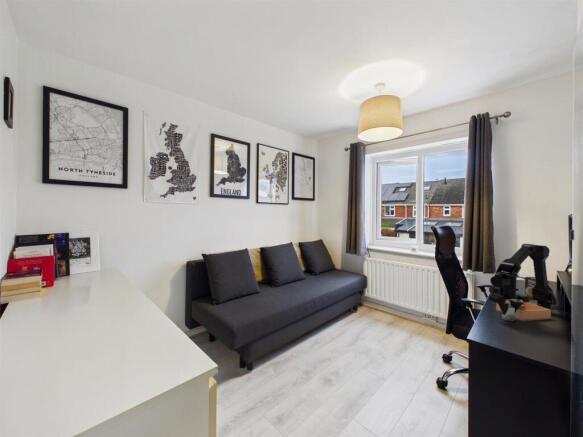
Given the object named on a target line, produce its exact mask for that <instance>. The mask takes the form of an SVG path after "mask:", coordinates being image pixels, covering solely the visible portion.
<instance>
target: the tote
mask: <svg viewBox="0 0 583 437" xmlns="http://www.w3.org/2000/svg"><path fill="white" fill-rule="evenodd" d="M521 302H523V300H521ZM495 303H496V302H495ZM507 303H510V302H509V300H507ZM523 303H524V304H522V305H523V306H525V311H521V310H517V311H516V312H515V320H518V321H521V322H526V321H541V320H551V319H552V314H551V310H550V309H547V308H544V307H541V306H538V305H535V304H532V303H529V302H523ZM495 310H496V311H497V312H500V313H501V314H502V311H501V309H500V306H499V305H498V303H496V306H495Z"/></svg>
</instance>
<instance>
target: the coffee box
mask: <svg viewBox="0 0 583 437" xmlns="http://www.w3.org/2000/svg"><path fill="white" fill-rule="evenodd" d="M524 279H525V296H527V297H528V298H529V303H532V304H535V305H537V300H533V296H532V288H533V287H534V286H535V285H536V282H535V276H525V277H524ZM547 281H548V285H549V286H550V281H549V280H547Z"/></svg>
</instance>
